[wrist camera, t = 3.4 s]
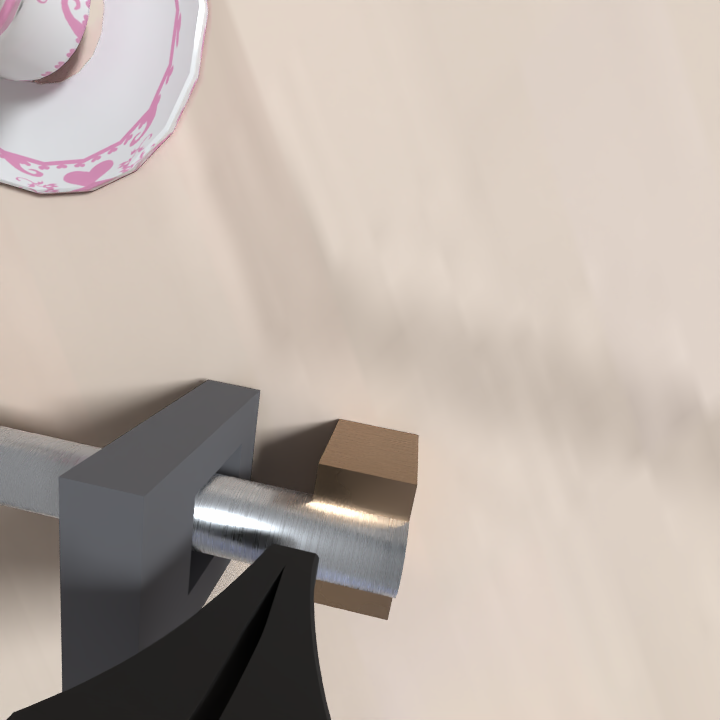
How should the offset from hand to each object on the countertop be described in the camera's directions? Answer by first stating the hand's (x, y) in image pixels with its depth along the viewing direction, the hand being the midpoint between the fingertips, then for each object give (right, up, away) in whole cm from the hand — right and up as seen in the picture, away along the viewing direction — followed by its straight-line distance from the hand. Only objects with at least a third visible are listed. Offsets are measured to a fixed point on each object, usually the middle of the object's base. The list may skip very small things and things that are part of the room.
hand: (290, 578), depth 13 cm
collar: (-3, +2, +6) cm, 7 cm away
